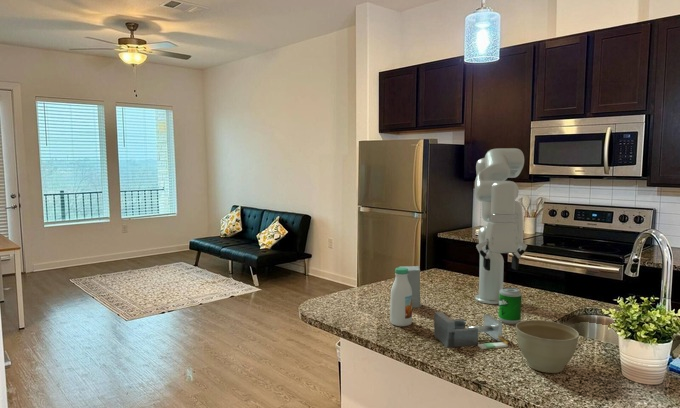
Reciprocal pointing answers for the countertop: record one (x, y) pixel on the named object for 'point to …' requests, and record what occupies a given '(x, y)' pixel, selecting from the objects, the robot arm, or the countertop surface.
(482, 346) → the strip
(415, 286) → the skincare box
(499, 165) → the robot arm
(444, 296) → the countertop surface
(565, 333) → the planter bowl
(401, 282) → the milk bottle
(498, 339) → the plunger
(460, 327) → the bracket
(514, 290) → the soda can
